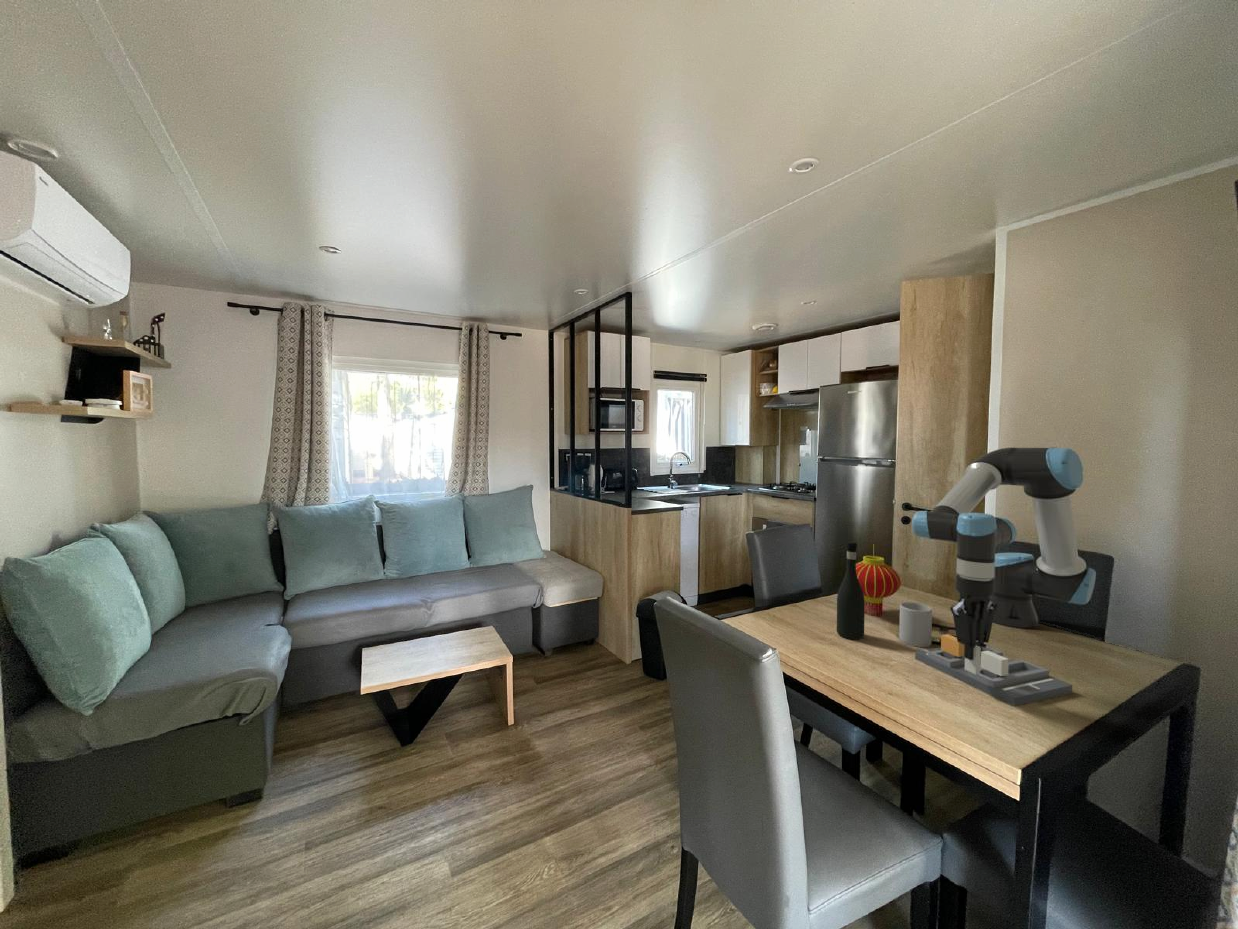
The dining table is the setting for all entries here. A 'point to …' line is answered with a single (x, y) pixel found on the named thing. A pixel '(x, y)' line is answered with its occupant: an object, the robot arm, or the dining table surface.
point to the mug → (915, 624)
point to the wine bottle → (850, 600)
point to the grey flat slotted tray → (1001, 678)
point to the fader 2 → (994, 664)
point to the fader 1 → (951, 647)
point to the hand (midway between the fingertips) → (972, 671)
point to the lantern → (876, 582)
